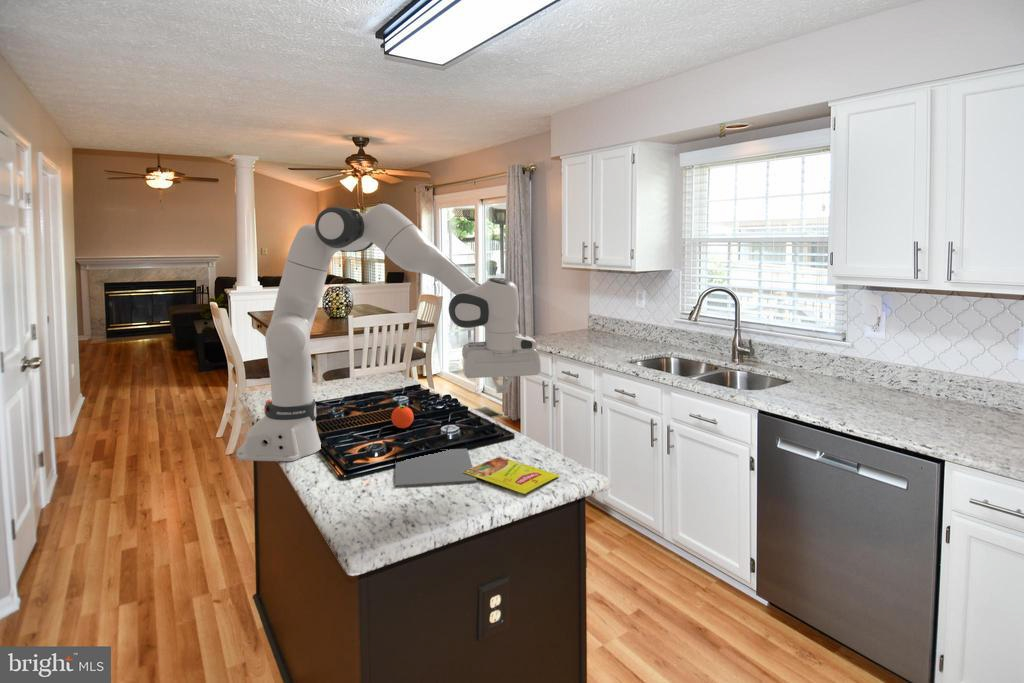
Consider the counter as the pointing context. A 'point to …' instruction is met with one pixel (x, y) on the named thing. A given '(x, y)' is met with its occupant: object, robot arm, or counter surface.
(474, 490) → the counter surface
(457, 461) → the mat
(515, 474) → the food package
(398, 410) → the clementine
